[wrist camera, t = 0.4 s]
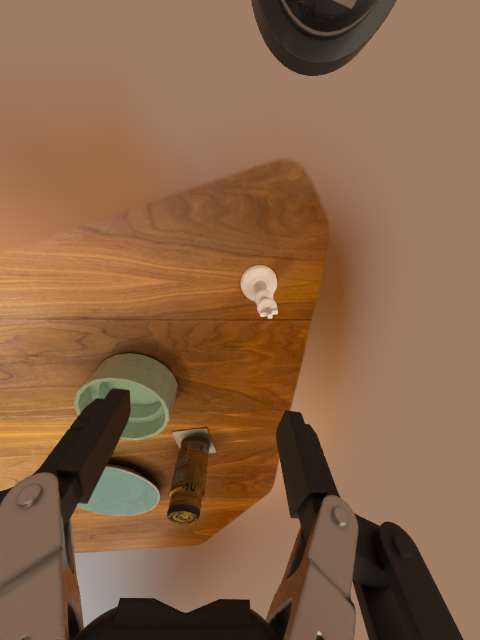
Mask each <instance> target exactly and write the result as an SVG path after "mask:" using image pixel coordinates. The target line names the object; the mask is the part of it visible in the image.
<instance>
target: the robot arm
mask: <svg viewBox="0 0 480 640" xmlns="http://www.w3.org/2000/svg"><path fill="white" fill-rule="evenodd" d="M377 1H378V0H278V2H279V4H280V7H281V9H282V10H283V12H284V14H285V16H286V17H287V19H288V20H289V21H290V23H291V24H292V25H293V26H294V27H295V28H296V29H297V30H298V31H300V32H301V33H302V34H304V35H306V36H308V37H310V38H313V39H317V40H330V39H334V38H337V37H340V36H342V35H344V34H346V33H348V32H349V31H351V30H352V29H353V28H355V27H356V26H357V25H358V24H359V23H360V22H361V21H363V19H364V18H365V17H366V16H367V15H368V14H369V12H370V11H371V10H372V8H373V7H374V6H375V4H376V3H377ZM130 412H131V404H130V390H126V389H118V388H112V389H111V390H110V391H109V392H108V394H107V395H106V397H105V398H104V399H101V398H96V399H95V400H94V401H92V402H91V403H90V404H88V405H87V406H86V407H85V408H84V409H83V411H82V412H81V413H80V415H79V416H78V417H77V420H75V421H74V423H73V424H72V425H71V427H70V429H68V431H67V432H66V433H65V435H64V436H63V437H62V439H61V440H60V441H59V443H58V444H57V445H56V447H55V448H54V449H53V451H52V452H51V453H50V455H49V456H48V457H47V459H46V460H45V462H44V463H43V464H42V465H41V467H40V468H39V469H38V470H37V471H36V472H35V473H34V474H33V475H32V476H29V477H27V478H25V479H24V480H22V481H21V482H19V483H18V484H17V485H15V486H14V487H12V488H9V489H7V490H3V491H0V640H354V632H355V622H356V612H355V607H354V604H353V603H352V601H351V597H350V592H351V585H352V581H353V584H354V588H355V591H356V595H357V598H358V602H359V606H360V609H361V613H362V616H363V620H364V623H365V627H366V630H367V634H368V637H369V640H463V638H462V636H461V634H460V632H459V630H458V628H457V626H456V624H455V622H454V620H453V618H452V616H451V614H450V612H449V610H448V608H447V606H446V604H445V602H444V600H443V598H442V596H441V594H440V592H439V590H438V588H437V586H436V584H435V582H434V580H433V578H432V576H431V574H430V572H429V570H428V568H427V566H426V564H425V562H424V560H423V558H422V556H421V554H420V552H419V550H418V548H417V547H416V545H415V543H414V542H413V540H412V539H411V538H410V536H409V535H408V534H407V533H406V532H405V531H404V530H403V529H402V528H401V527H399V526H398V525H396V524H394V523H391V522H384V523H383V524H381V525H380V526H379V525H376V524H374V523H372V522H370V521H368V520H366V519H364V518H362V517H360V516H358V515H356V514H355V513H354V512H353V511H352V509H351V508H350V506H349V505H348V504H347V503H346V502H345V501H344V500H343V499H341V497H340V496H339V494H338V491H337V489H336V486H335V483H334V480H333V478H332V475H331V472H330V469H329V467H328V464H327V461H326V458H325V456H324V453H323V450H322V448H321V445H320V442H319V439H318V437H317V434H316V433H315V431H314V430H313V429H312V427H311V426H310V425H309V424H305V423H304V420H303V417H302V414H301V413H300V412H293V411H285V413H284V415H283V417H282V419H281V421H280V423H279V426H278V428H277V432H276V440H277V446H278V451H279V456H280V462H281V467H282V473H283V478H284V484H285V489H286V495H287V500H288V506H289V511H290V516H291V518H299V520H300V524H301V528H300V530H299V532H298V535H297V538H296V541H295V544H294V547H293V550H292V553H291V556H290V559H289V562H288V565H287V568H286V571H285V574H284V577H283V579H282V582H281V584H280V586H279V588H278V590H277V592H276V594H275V596H274V598H273V601H272V603H271V606H270V609H269V612H268V615H267V618H266V621H265V620H264V619H263V618H262V617H261V616H260V615H259V614H257V613H256V612H255V611H253V610H251V609H250V600H236V599H235V600H234V599H219V600H217V601H214V602H212V603H210V604H208V605H205V606H202V607H200V608H198V609H195V610H193V611H191V612H188V613H183V612H181V611H179V610H177V609H175V608H173V607H171V606H168V605H166V604H164V603H162V602H160V601H158V600H156V599H154V598H120V601H119V604H118V607H115V608H113V609H111V610H109V611H107V612H105V613H104V614H102V615H100V616H99V617H98V618H96V619H95V620H93V621H92V622H91V623H90V624H89V625H87V626H86V627H85V628H84V627H83V617H82V608H81V599H80V592H79V586H78V582H77V576H76V567H75V557H74V546H73V536H72V526H71V516H72V514H73V512H74V510H75V508H76V506H77V504H78V503H82V504H88V502H89V500H90V498H91V496H92V494H93V492H94V490H95V488H96V486H97V484H98V482H99V480H100V477H101V475H102V473H103V471H104V469H105V467H106V465H107V463H108V461H109V459H110V457H111V455H112V453H113V451H114V449H115V447H116V445H117V443H118V441H119V439H120V437H121V435H122V433H123V431H124V429H125V427H126V425H127V423H128V420H129V417H130Z"/></svg>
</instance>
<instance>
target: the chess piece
mask: <svg viewBox="0 0 480 640" xmlns="http://www.w3.org/2000/svg"><path fill="white" fill-rule="evenodd" d="M240 285H241V289H242V292H243V293H244V295H245V296H246V297H247V298H248V299H250V300H253V301H255V303H256V305H257V311H258V312H259V314H260V316H261V317H264V316H267V317H268V319H271V318H273V317H272V315H275V314H278V310H277V305H276V302H275V301H274V300H273V294H274V292H275V290H276V288H277V278H276V275H275V273H274V272H273V270H272V269H270V268H269V267H267V266H264V265H255V266H252V267H250V268H249V269H247V270H246V271H245V272H244V274H243V275H242V278H241V282H240Z"/></svg>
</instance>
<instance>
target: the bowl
mask: <svg viewBox="0 0 480 640" xmlns="http://www.w3.org/2000/svg"><path fill="white" fill-rule="evenodd" d="M112 388H118V389H126V390H130V404H131V412H130V417H129V420H128V423H127V425H126V427H125V429H124V431H123V433H122V435H121V437H120V440H141V439H147V438H150V437H152V436H155V435H157V434H158V433H160V432H161V431H162V430H163V429H165V427H166V425H167V423H168V421H169V418H170V415H171V412H172V409H173V405H174V402H175V399H176V396H177V382H176V380H175V377H174V375H173V374H172V373H171V371H170V370H169V369H168V368H167V367H166V366H164V365H163V364H161V363H160V362H158V361H157V360H155V359H153V358H150V357H147V356H144V355H140V354H131V353H126V354H119V355H114V356H112V357H110V358H108V359H106V360H104V361H103V362H102V363H101V365H100V366H99V367H98V368H97V369H96V370H95V371H94V373H93V374H92V375H91V376H90V377H89V378H88V380H87V381H86V382H85V383H84V384H83V385H82V387H81V388H80V389H79V390H78V391H77V392H76V395H75V399H74V406H75V410H76V413H77V414H78V416H79V415H80V413H81V412H82V411H83V409H84V408H85V407H86V406H87V405H88V404H90V403H91V402H92V401H94V400H95V399H96V398H101V399H104V398H105V397H106V395H107V394H108V392H109V391H110V390H111V389H112Z"/></svg>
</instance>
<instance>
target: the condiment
mask: <svg viewBox="0 0 480 640" xmlns="http://www.w3.org/2000/svg"><path fill="white" fill-rule="evenodd" d="M171 433H172V435H173V437H174V439H175V441H176V442H177V444H178V446H179V448H180V450H179V453H178V457H177V462H176V464H175V470H174V475H173V479H172V482H171V489H170V499H171V500H170V502H169V510H168V512H167V513H168V514H167V516H168V519H169V520H171V521H172V522H174V523H178V524H190V523H193V522H195V521H196V520H198V518H199V516H200V508H201V501H202V499H203V498H204V492H205V483H206V474H207V465H208V455H209V454H210V453H216V451H215V448H214V445H213V442H212V440H211V438H210V435H209V433H208V430H207V428H205V429H202V428H201V429H192V430H184V431H177V432H171Z"/></svg>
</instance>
